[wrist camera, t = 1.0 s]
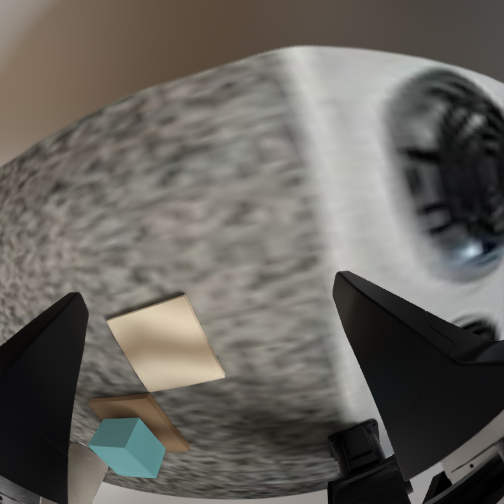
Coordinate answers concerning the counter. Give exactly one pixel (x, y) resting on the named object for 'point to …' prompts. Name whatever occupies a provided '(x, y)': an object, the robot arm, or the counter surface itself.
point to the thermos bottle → (83, 475)
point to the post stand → (142, 417)
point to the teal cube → (128, 447)
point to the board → (166, 345)
